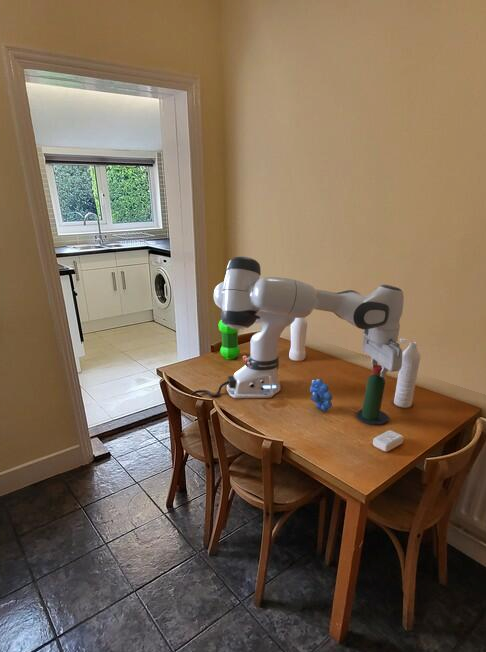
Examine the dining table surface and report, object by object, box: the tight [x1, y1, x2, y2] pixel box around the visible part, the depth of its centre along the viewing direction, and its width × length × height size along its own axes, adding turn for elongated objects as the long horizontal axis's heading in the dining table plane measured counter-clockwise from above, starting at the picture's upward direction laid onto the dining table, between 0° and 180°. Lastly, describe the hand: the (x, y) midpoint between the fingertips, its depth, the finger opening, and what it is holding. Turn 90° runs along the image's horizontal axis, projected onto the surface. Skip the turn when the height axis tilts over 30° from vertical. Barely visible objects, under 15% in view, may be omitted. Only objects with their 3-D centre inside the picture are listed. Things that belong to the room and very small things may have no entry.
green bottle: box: [361, 373, 386, 420], centre depth 144 cm, size 6×6×18 cm
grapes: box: [309, 378, 333, 413], centre depth 152 cm, size 12×7×12 cm, turn 30°
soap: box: [372, 429, 404, 453], centre depth 132 cm, size 9×6×3 cm, turn 126°
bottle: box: [288, 317, 308, 362], centre depth 196 cm, size 8×8×30 cm
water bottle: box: [393, 337, 421, 409], centre depth 153 cm, size 9×6×25 cm
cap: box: [371, 364, 382, 375], centre depth 140 cm, size 4×4×2 cm
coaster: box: [356, 409, 389, 426], centre depth 148 cm, size 11×11×1 cm
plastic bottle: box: [217, 319, 241, 360], centre depth 199 cm, size 10×10×25 cm
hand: (378, 373), depth 141 cm, fingers closed on cap, 4 cm apart
